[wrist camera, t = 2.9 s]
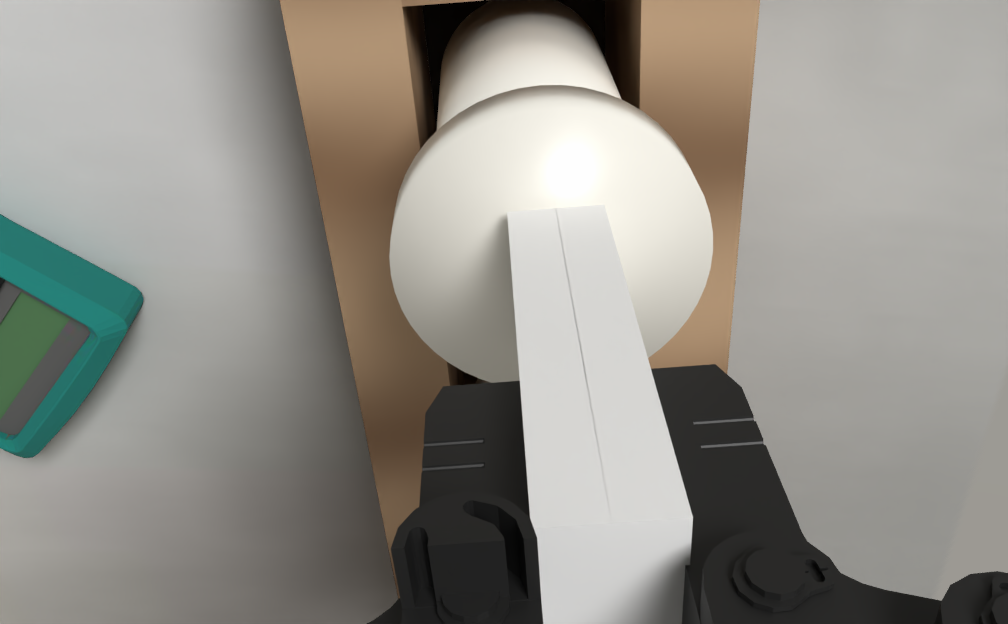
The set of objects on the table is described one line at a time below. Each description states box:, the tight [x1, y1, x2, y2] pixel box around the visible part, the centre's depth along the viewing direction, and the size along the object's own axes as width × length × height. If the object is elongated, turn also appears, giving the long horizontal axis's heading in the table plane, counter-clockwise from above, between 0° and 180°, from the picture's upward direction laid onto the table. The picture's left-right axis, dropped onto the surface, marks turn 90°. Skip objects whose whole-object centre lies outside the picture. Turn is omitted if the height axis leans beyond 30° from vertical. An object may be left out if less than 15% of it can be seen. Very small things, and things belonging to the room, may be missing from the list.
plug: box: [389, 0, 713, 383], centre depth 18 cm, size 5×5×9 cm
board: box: [280, 0, 760, 599], centre depth 28 cm, size 30×10×6 cm, turn 4°
